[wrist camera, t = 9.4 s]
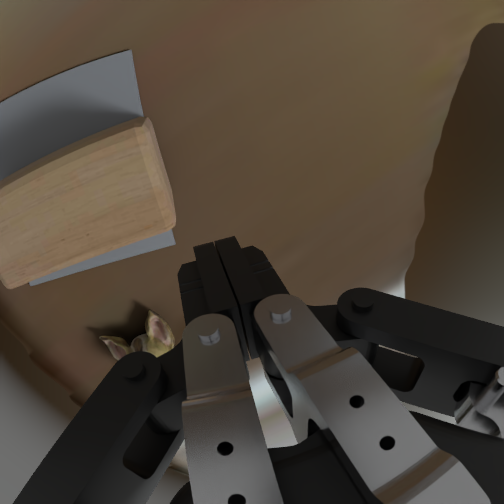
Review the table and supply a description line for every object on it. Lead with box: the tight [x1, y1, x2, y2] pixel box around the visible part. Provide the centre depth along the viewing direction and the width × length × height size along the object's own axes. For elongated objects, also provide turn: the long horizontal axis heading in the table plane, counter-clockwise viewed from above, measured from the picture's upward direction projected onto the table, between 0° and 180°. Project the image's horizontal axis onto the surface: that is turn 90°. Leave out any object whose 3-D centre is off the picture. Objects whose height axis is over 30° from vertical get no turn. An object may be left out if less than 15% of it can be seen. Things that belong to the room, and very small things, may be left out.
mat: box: [0, 50, 175, 286], centre depth 29 cm, size 24×22×1 cm
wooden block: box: [0, 117, 176, 289], centre depth 26 cm, size 10×10×20 cm
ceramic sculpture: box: [99, 310, 174, 360], centre depth 42 cm, size 11×9×15 cm
